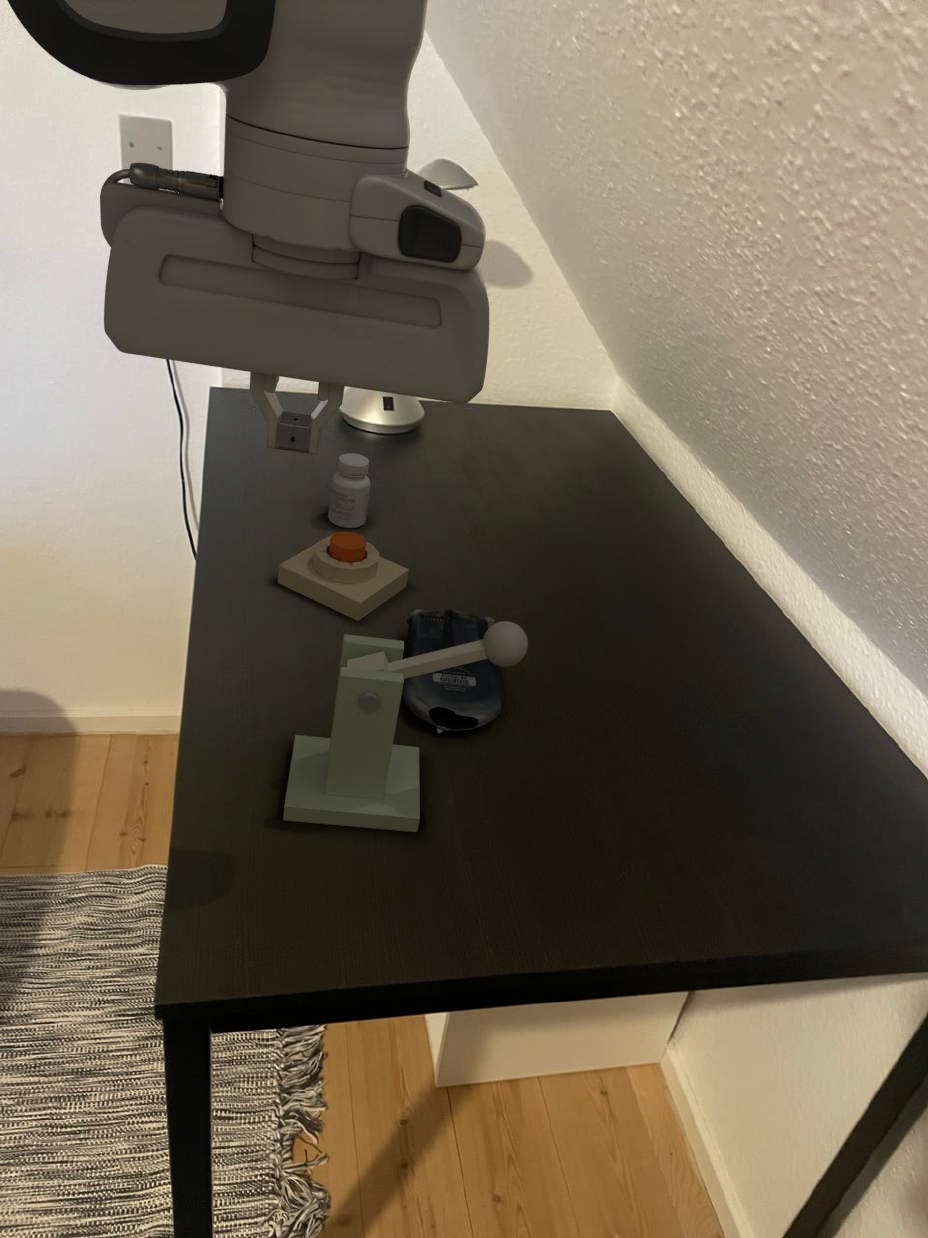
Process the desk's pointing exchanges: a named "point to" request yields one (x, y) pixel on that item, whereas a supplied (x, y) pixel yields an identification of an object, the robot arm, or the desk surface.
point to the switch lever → (455, 653)
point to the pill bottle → (349, 491)
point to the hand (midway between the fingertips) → (293, 447)
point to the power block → (343, 579)
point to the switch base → (358, 753)
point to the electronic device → (452, 673)
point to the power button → (347, 547)
